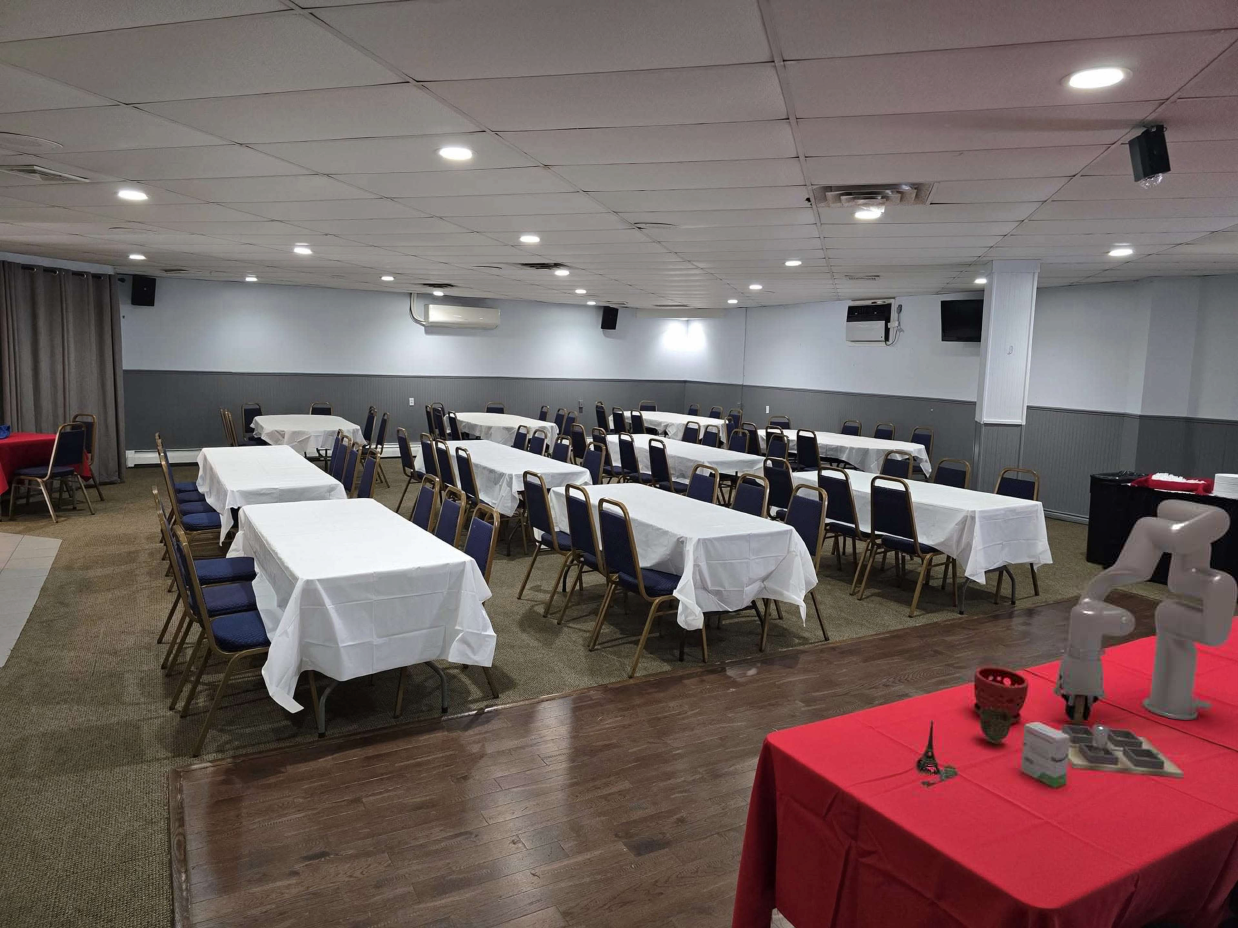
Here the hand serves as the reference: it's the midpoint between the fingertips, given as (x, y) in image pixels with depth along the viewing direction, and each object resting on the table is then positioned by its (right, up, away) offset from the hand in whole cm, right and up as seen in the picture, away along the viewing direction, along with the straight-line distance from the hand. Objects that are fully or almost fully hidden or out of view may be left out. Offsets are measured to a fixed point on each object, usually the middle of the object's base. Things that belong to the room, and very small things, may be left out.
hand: (1076, 717), depth 210 cm
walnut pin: (0, -2, 0) cm, 2 cm away
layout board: (-2, -4, -17) cm, 17 cm away
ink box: (-25, -5, -28) cm, 38 cm away
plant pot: (-20, -1, +3) cm, 20 cm away
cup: (-28, -3, -12) cm, 31 cm away
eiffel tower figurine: (-50, -5, -26) cm, 56 cm away
